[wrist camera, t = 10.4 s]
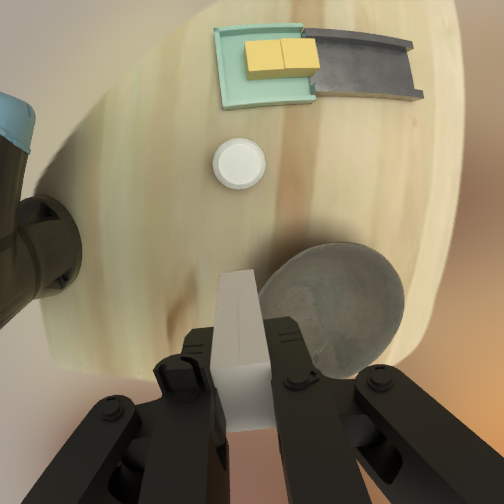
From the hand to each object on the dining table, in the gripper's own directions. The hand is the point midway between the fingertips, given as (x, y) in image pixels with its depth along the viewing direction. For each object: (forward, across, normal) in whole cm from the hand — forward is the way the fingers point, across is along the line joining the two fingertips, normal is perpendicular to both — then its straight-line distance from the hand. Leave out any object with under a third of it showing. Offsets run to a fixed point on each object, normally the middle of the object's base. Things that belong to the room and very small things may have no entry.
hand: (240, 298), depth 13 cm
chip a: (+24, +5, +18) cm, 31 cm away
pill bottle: (+25, +1, +6) cm, 25 cm away
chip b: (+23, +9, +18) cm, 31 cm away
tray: (+24, +6, +18) cm, 31 cm away
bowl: (+25, +9, -12) cm, 29 cm away
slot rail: (+24, +19, +18) cm, 36 cm away
